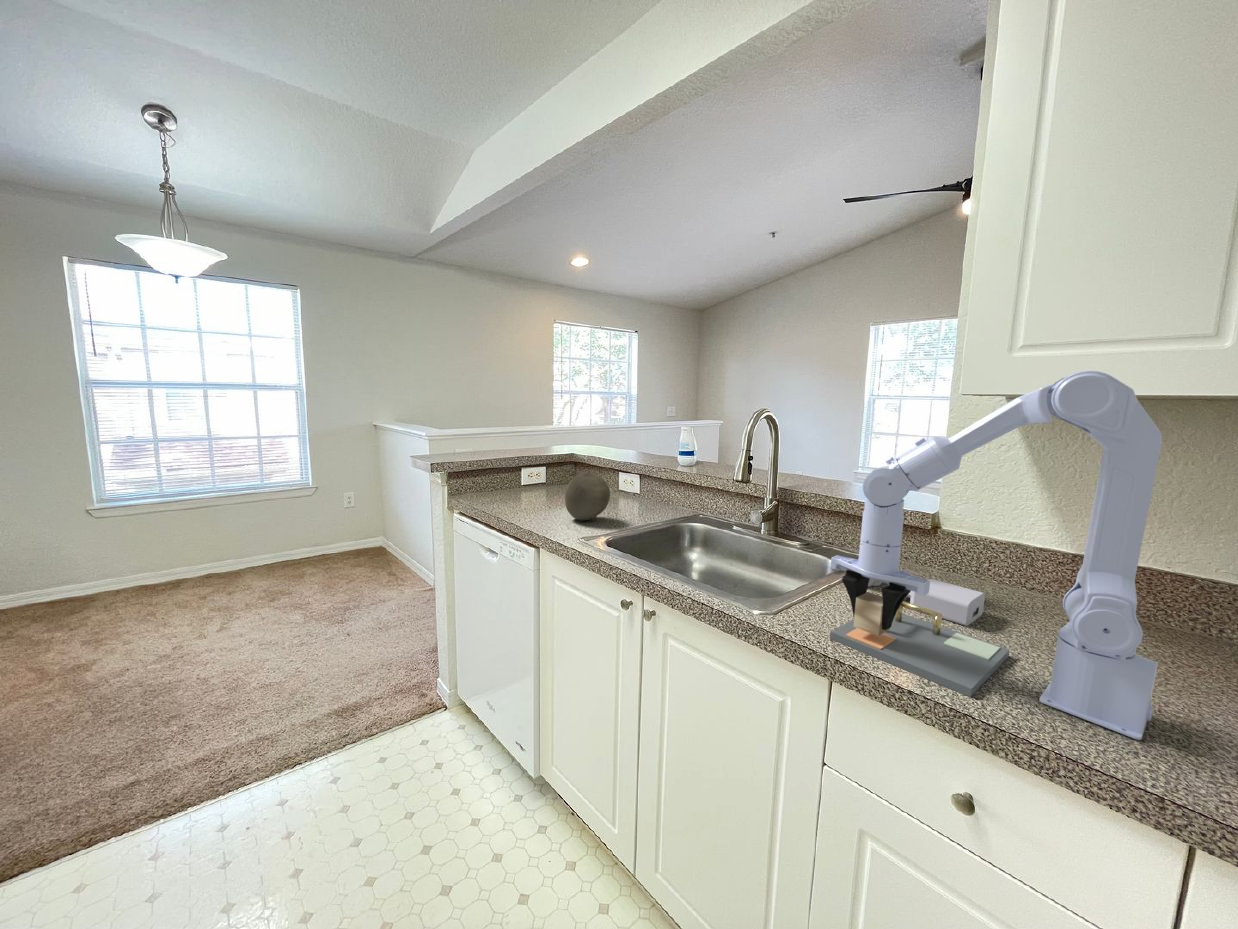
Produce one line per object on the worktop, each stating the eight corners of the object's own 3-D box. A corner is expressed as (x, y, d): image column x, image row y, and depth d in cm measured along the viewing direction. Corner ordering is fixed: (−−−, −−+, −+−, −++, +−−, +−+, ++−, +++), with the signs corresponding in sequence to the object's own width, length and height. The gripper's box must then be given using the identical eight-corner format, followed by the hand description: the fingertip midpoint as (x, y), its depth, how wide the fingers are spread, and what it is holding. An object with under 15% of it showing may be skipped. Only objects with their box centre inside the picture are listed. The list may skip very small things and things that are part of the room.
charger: (899, 590, 105) (982, 615, 93) (879, 600, 99) (965, 628, 88) (901, 568, 104) (985, 591, 93) (881, 577, 99) (968, 603, 87)
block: (889, 629, 80) (892, 600, 79) (878, 636, 77) (881, 606, 76) (864, 620, 83) (867, 592, 82) (853, 626, 80) (856, 597, 80)
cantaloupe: (567, 526, 148) (568, 477, 146) (561, 515, 161) (562, 470, 159) (613, 525, 151) (614, 477, 149) (603, 514, 165) (604, 470, 162)
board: (1008, 656, 78) (1009, 648, 78) (970, 697, 67) (971, 687, 66) (878, 611, 93) (879, 604, 93) (829, 638, 82) (830, 630, 82)
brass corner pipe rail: (940, 634, 82) (943, 612, 81) (924, 646, 78) (926, 624, 77) (896, 619, 87) (898, 598, 87) (878, 629, 83) (880, 608, 83)
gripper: (941, 549, 75) (931, 633, 77) (848, 528, 86) (841, 601, 88) (923, 557, 70) (912, 646, 72) (827, 534, 82) (820, 611, 84)
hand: (872, 622), depth 80 cm, fingers closed on block, 4 cm apart
